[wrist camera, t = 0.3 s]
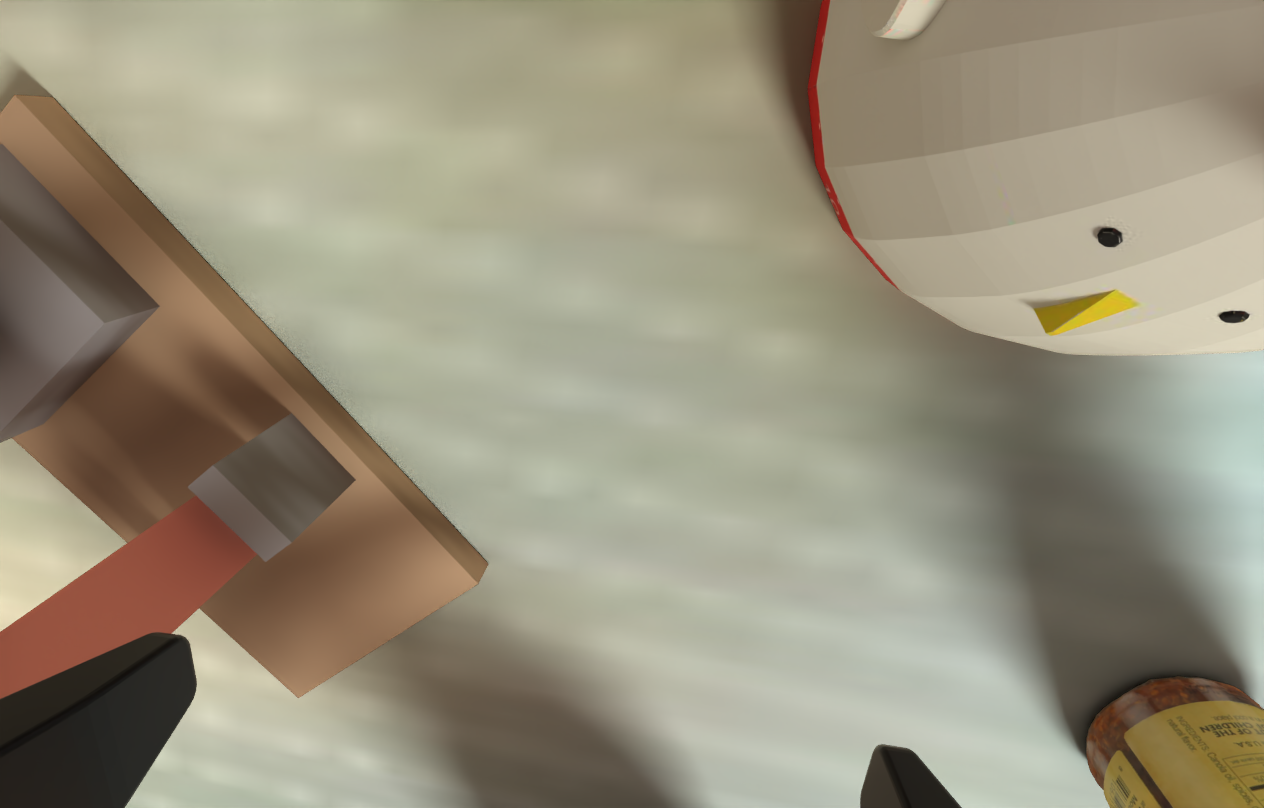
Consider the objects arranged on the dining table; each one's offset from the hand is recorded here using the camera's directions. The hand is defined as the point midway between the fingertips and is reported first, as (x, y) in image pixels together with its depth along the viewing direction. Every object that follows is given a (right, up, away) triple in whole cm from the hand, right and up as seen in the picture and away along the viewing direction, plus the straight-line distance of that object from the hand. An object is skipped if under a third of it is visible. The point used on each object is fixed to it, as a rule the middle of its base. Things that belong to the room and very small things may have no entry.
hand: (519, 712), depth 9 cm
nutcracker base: (-14, +3, +15) cm, 21 cm away
